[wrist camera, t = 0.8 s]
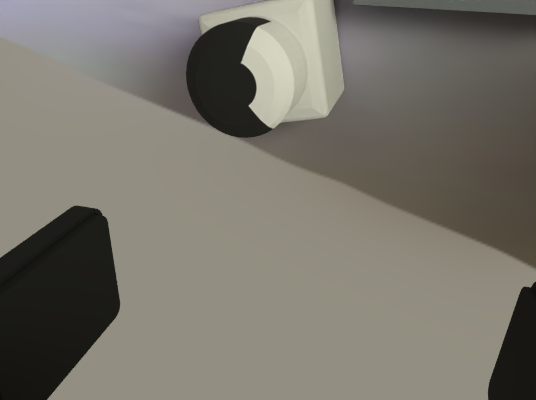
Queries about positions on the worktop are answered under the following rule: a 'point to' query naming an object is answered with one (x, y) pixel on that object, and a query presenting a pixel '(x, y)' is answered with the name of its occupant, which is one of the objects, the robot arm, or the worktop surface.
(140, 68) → the worktop surface
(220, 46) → the medicine bottle
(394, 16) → the worktop surface
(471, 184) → the worktop surface
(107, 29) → the worktop surface
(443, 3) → the tray
